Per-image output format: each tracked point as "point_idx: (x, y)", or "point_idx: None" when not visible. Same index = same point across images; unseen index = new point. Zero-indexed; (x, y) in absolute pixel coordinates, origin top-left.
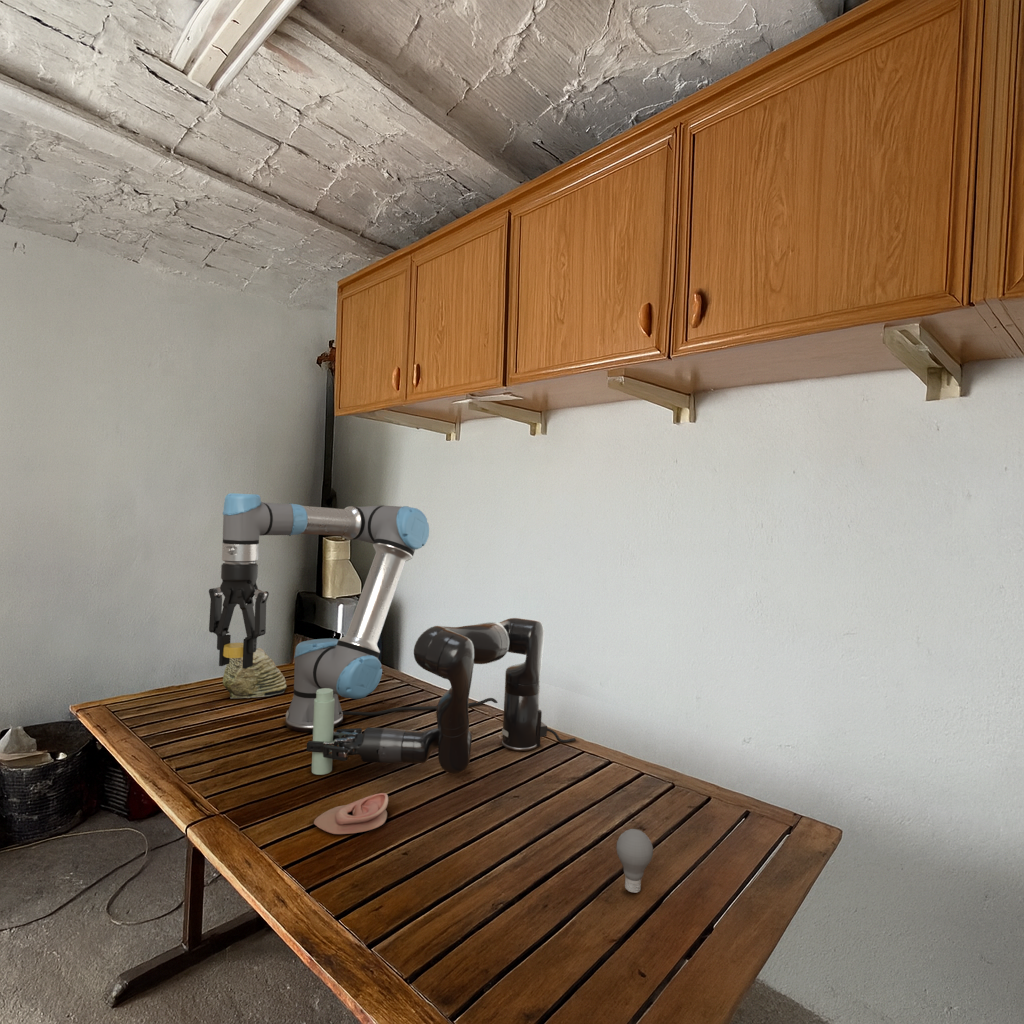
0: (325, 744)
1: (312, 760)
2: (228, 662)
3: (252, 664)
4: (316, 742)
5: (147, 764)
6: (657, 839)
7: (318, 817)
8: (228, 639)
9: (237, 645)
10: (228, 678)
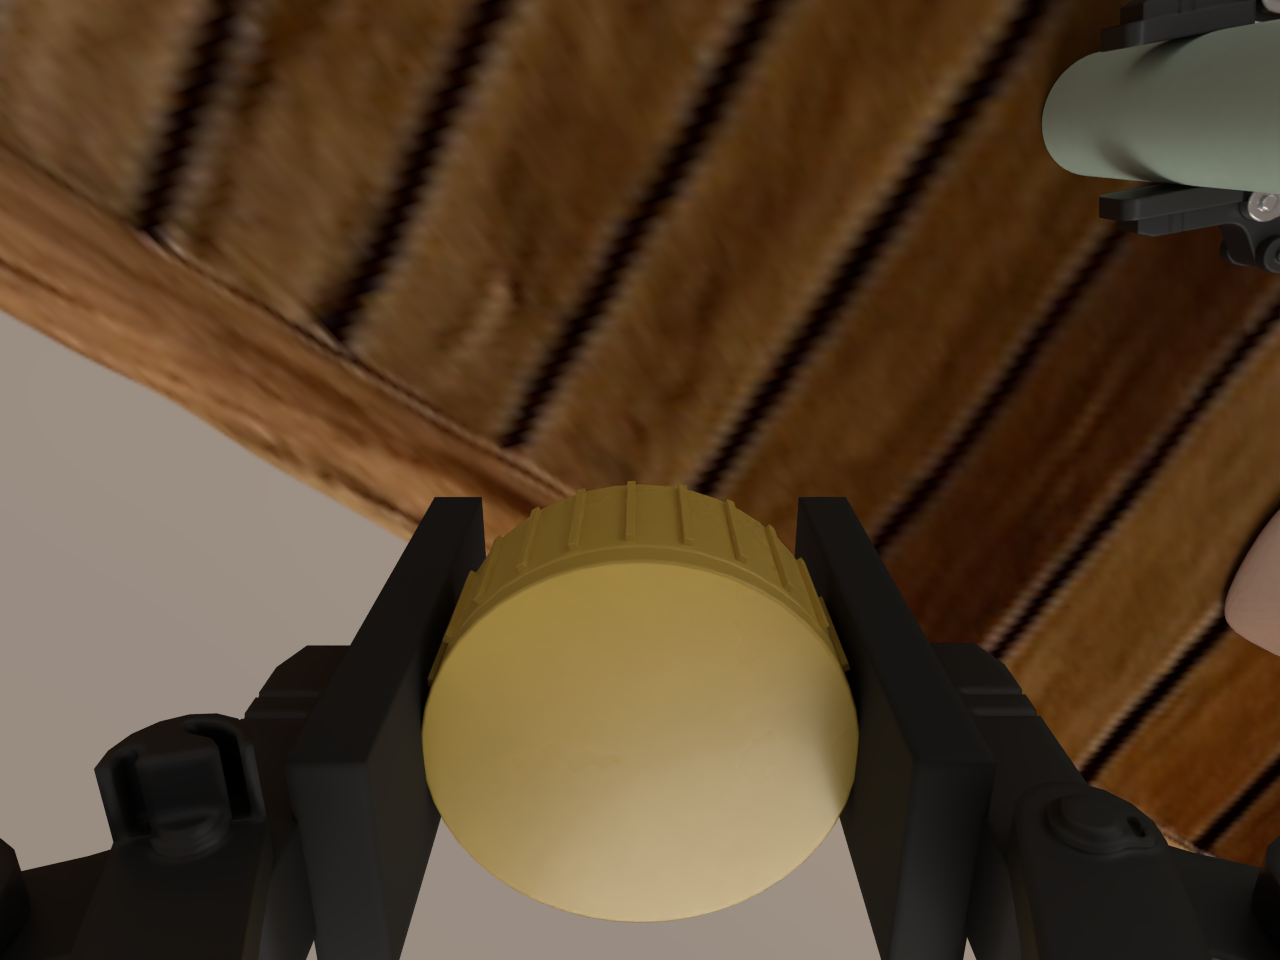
0: (1265, 220)
1: (1086, 161)
2: (479, 525)
3: (848, 508)
4: (1194, 209)
5: (143, 322)
6: None
7: (1251, 612)
8: (395, 759)
9: (670, 770)
10: None
